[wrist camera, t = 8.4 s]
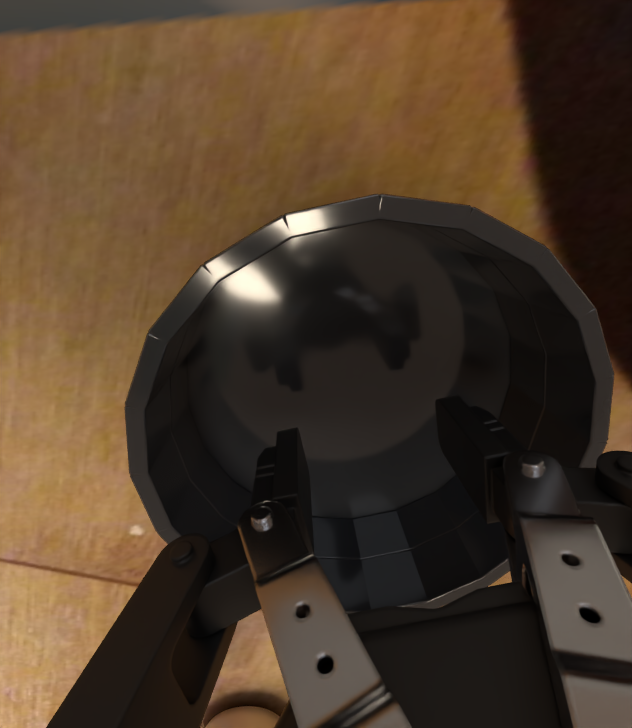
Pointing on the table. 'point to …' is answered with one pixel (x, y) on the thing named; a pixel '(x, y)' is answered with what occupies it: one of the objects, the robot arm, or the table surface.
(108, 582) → the table surface
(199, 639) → the robot arm
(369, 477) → the bowl
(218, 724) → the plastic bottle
